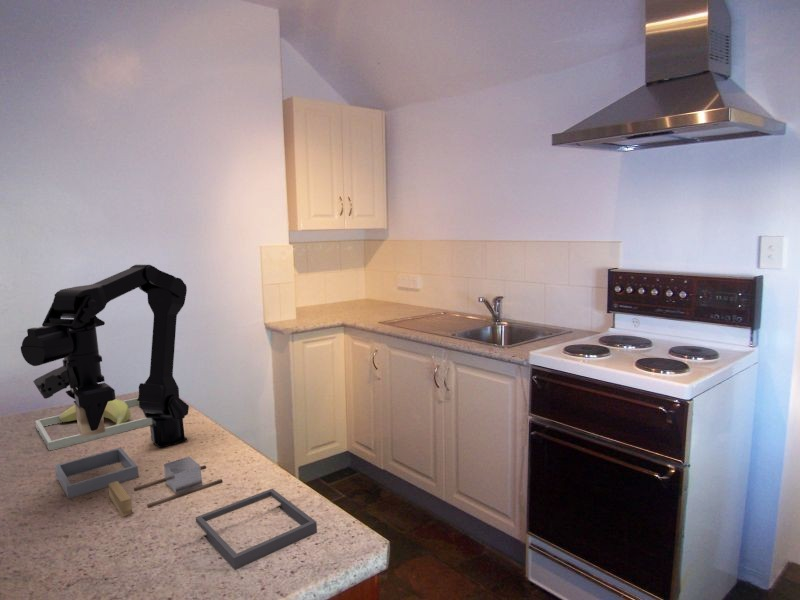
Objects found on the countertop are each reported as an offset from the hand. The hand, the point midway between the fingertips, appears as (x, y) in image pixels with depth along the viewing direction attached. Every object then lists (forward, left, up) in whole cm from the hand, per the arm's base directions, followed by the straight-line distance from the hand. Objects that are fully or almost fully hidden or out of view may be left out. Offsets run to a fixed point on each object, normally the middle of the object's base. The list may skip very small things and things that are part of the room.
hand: (91, 427), depth 113 cm
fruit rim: (-8, -35, -12) cm, 38 cm away
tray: (0, 0, -12) cm, 12 cm away
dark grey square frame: (-16, +39, -12) cm, 44 cm away
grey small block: (-12, +16, -11) cm, 23 cm away
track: (-7, +16, -12) cm, 21 cm away
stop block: (0, 0, -1) cm, 1 cm away
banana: (-8, -35, -12) cm, 38 cm away
